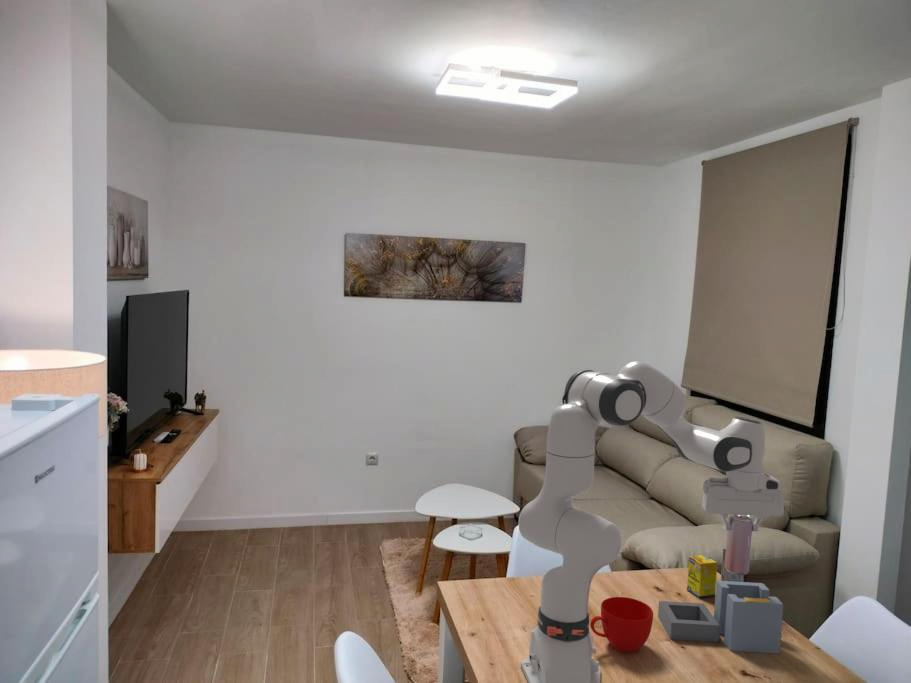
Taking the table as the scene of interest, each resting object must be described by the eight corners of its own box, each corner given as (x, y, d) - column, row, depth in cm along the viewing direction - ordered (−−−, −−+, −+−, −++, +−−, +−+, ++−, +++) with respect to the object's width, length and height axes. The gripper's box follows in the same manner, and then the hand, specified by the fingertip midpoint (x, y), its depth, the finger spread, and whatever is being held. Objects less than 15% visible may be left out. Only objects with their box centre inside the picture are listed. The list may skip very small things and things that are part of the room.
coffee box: (744, 617, 189) (748, 562, 188) (720, 613, 191) (724, 558, 190) (742, 604, 198) (746, 551, 197) (718, 600, 200) (722, 547, 199)
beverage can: (728, 563, 181) (733, 510, 180) (751, 570, 177) (756, 516, 176) (721, 570, 177) (725, 516, 175) (744, 578, 173) (748, 522, 171)
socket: (779, 653, 170) (783, 602, 169) (729, 650, 171) (733, 599, 170) (759, 629, 183) (763, 581, 182) (713, 626, 183) (716, 579, 182)
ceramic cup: (576, 639, 173) (578, 602, 172) (630, 630, 179) (633, 594, 178) (604, 665, 161) (606, 625, 160) (661, 655, 167) (664, 616, 166)
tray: (718, 642, 175) (719, 625, 174) (670, 639, 175) (671, 622, 175) (702, 619, 187) (704, 603, 187) (657, 616, 188) (658, 600, 187)
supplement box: (686, 590, 206) (688, 555, 205) (702, 588, 207) (705, 554, 207) (698, 599, 200) (701, 563, 199) (715, 597, 202) (717, 562, 201)
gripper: (708, 480, 172) (704, 533, 173) (788, 483, 171) (784, 536, 172) (699, 474, 178) (696, 524, 179) (777, 476, 177) (773, 527, 179)
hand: (740, 530), depth 176 cm, fingers closed on beverage can, 6 cm apart
